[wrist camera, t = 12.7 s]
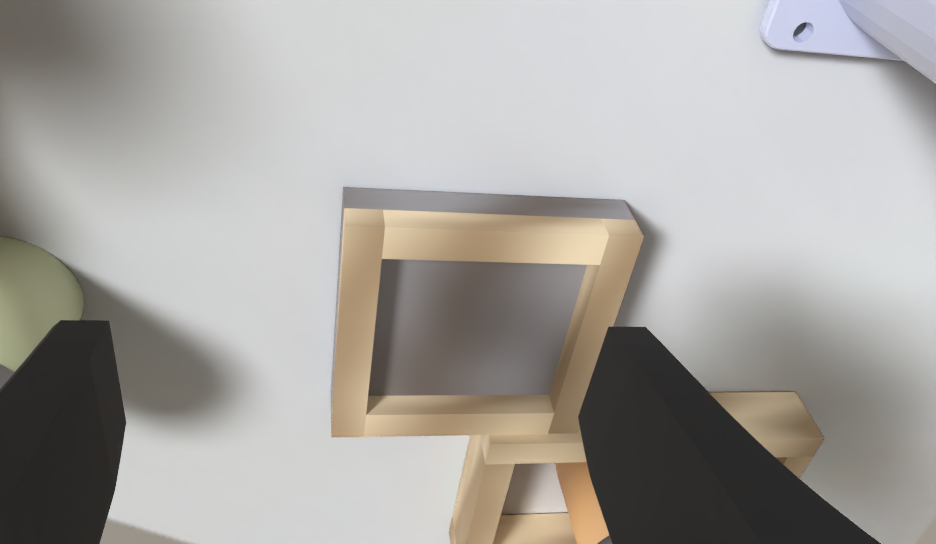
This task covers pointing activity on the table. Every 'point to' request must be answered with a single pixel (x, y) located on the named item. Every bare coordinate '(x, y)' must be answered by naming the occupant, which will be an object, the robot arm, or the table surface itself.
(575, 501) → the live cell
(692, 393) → the robot arm
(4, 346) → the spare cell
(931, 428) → the table surface
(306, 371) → the table surface
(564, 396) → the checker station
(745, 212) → the table surface
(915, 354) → the table surface
